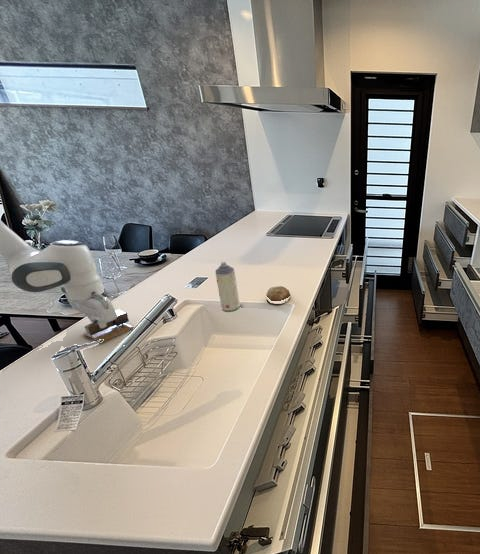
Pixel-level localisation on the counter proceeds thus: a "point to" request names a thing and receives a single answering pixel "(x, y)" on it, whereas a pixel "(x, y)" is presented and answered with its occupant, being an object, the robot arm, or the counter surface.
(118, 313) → the dish brush
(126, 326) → the light flat block
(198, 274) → the counter surface
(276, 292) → the bread roll
